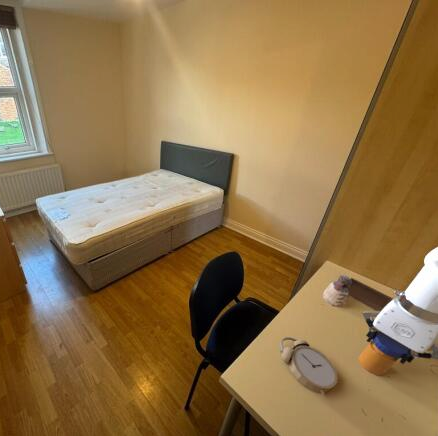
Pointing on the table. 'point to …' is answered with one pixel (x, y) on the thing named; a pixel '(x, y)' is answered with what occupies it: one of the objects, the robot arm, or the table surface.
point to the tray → (368, 295)
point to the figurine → (338, 291)
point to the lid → (389, 345)
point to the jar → (375, 360)
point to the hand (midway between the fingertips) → (385, 349)
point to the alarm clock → (309, 366)
